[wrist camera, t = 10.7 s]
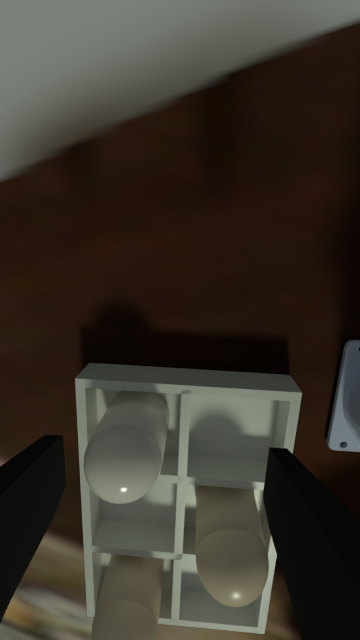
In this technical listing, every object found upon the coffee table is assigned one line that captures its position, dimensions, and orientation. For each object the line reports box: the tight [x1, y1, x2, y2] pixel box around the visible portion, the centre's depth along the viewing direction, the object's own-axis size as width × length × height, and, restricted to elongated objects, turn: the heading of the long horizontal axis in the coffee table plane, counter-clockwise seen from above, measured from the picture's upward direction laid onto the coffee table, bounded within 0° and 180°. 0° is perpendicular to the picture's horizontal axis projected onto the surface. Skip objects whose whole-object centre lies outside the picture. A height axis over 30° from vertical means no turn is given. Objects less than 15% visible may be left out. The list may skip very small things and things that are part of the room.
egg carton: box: [75, 363, 302, 640], centre depth 20 cm, size 14×20×7 cm
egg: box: [83, 390, 170, 504], centre depth 18 cm, size 4×4×7 cm
